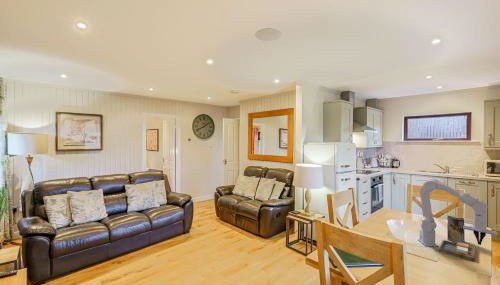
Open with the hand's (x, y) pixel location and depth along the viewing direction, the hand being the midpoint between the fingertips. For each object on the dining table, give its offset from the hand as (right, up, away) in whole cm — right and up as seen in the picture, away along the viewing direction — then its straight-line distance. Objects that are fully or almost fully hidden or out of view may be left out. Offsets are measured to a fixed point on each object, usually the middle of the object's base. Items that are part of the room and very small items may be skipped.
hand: (479, 244), depth 143 cm
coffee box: (+8, -9, +26) cm, 28 cm away
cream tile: (-5, -7, +5) cm, 10 cm away
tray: (-8, -9, +13) cm, 18 cm away
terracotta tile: (0, -7, +11) cm, 13 cm away
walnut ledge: (-2, -9, +8) cm, 12 cm away
